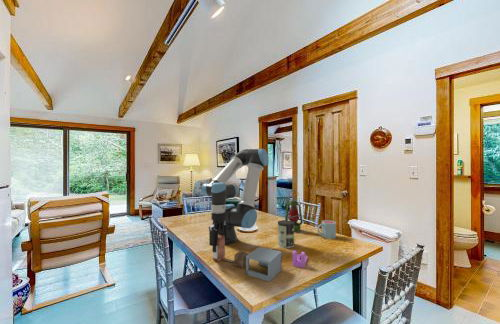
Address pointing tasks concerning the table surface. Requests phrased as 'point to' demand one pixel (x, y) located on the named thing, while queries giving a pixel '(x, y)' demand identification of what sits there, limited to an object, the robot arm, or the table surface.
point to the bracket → (297, 261)
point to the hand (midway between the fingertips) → (218, 255)
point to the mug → (328, 229)
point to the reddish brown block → (238, 257)
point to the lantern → (294, 213)
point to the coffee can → (286, 234)
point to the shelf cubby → (265, 262)
